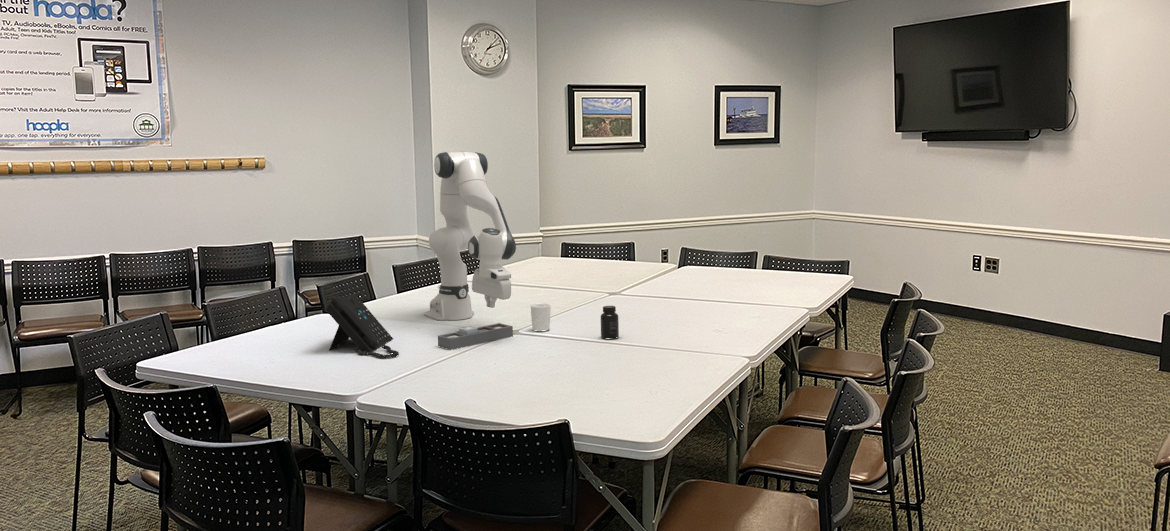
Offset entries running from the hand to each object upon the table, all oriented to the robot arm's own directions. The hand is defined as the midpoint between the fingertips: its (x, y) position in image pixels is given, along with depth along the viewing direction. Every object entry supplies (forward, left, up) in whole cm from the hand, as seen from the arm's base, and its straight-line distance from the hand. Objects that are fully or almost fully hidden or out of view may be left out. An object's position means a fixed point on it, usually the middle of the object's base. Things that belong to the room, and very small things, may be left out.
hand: (490, 307), depth 321 cm
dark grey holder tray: (+2, -9, -12) cm, 14 cm away
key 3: (+2, -5, -11) cm, 12 cm away
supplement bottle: (+35, +29, -12) cm, 47 cm away
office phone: (-18, -41, -12) cm, 47 cm away
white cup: (+6, +20, -12) cm, 24 cm away
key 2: (+2, -12, -8) cm, 15 cm away
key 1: (+2, -19, -11) cm, 22 cm away
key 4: (+2, +2, -11) cm, 11 cm away
